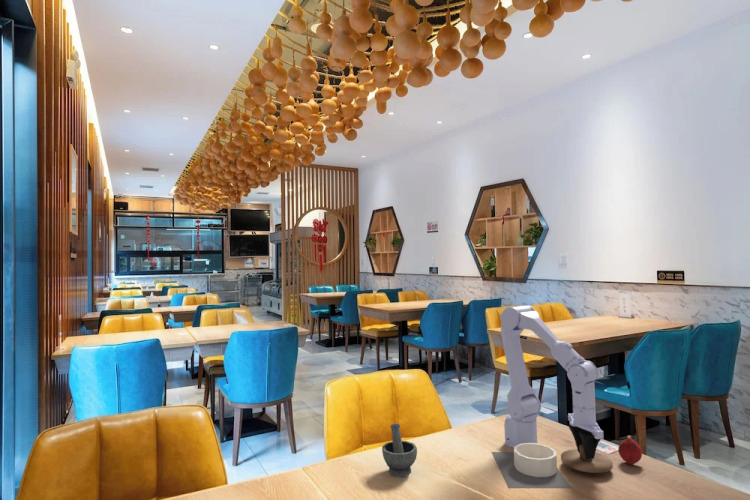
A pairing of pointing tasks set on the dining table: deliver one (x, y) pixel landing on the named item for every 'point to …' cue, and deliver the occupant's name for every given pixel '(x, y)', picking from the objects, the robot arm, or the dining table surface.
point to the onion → (630, 451)
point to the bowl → (535, 460)
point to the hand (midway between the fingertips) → (586, 455)
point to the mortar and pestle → (399, 454)
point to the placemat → (523, 481)
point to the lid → (586, 461)
